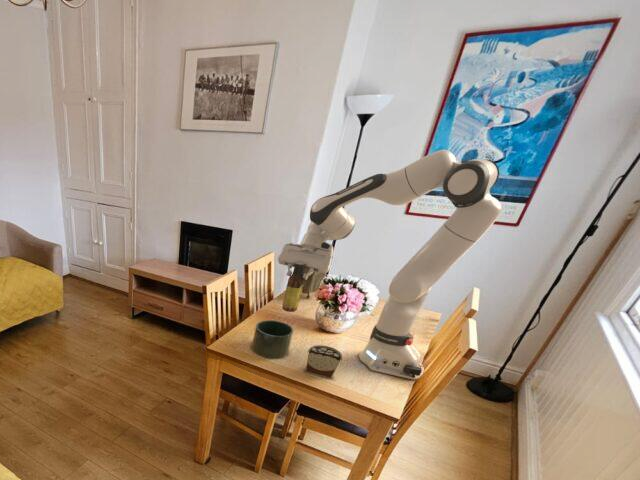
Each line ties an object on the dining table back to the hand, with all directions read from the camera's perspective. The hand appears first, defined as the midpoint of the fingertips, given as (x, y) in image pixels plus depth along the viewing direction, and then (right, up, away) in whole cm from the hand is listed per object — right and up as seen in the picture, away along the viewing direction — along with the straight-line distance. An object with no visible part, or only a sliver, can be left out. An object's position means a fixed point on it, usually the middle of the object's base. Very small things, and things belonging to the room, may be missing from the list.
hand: (296, 277), depth 158 cm
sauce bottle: (+1, -12, +9) cm, 15 cm away
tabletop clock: (+27, +4, +54) cm, 60 cm away
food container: (+7, -38, -5) cm, 39 cm away
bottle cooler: (-8, -28, +9) cm, 31 cm away
